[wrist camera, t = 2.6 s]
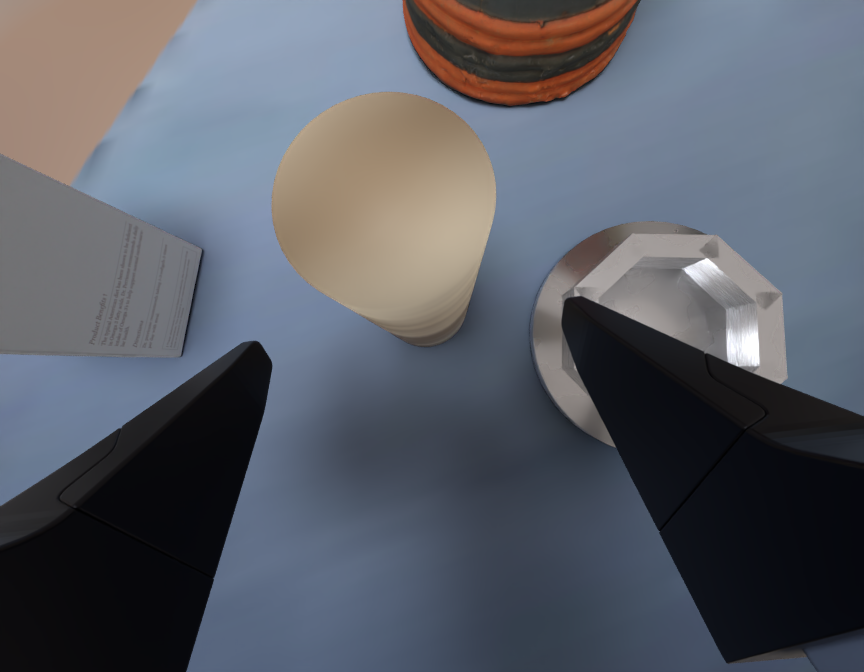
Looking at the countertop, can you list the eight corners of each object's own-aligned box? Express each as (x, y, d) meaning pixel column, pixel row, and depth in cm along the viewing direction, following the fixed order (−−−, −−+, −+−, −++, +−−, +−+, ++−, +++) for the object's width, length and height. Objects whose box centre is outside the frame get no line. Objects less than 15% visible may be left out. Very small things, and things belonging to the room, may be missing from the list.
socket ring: (813, 342, 18) (879, 338, 15) (646, 502, 18) (683, 527, 15) (640, 186, 19) (671, 155, 17) (483, 331, 19) (489, 324, 16)
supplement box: (102, 235, 21) (-402, 43, 9) (207, 248, 21) (-169, 65, 8) (75, 345, 21) (-515, 310, 8) (182, 362, 20) (-270, 353, 7)
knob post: (483, 307, 19) (545, 198, 7) (422, 364, 19) (371, 356, 7) (428, 249, 20) (390, 50, 7) (368, 304, 20) (227, 194, 7)
